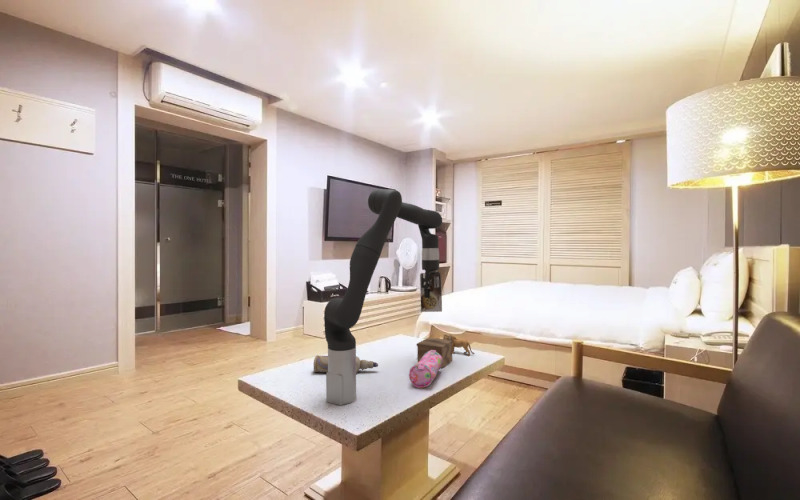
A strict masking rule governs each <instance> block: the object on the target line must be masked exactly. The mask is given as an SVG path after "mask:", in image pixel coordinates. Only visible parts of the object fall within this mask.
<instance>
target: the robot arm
mask: <svg viewBox="0 0 800 500" xmlns="http://www.w3.org/2000/svg"><path fill="white" fill-rule="evenodd" d="M367 205H368V208H369V210H370V211H371V212H372V213H373V214H375V215H378V217H377V219H376V220H375V222H374V223H373V225H372V226H371V227H369V228H368V229H367V231H365V232H364V233H363V235H362V236H361V237H359V239H358V241H356V243H355V245H354V249H353V251H352V253H351V256H350V259H349V282H348V286H347V288H346V291H345V294H344V296H343V298H341V297H340V298H339V297H335V298H332V299H331V300H329V301H328V302H327V304H325V308H324V312H323V315H324V316H323V322H324V324H323V325H324V336H325V340H326V343H327V356H328V372H325V377H326V378H325V383H326V385H325V386H326V390H325V391H326V392H325V393H326V394H325V395H326V403H329V404H330V403H331V404H333V405H337V406H343V405H346V404H350V403H353V402H354V401H356V399H357V373H356V356H357V345H356V344H357V339H356V337H355V336H354V335H353V334H352V332H351V330H350V329H351V328H353V327H354V326H356V325H357V323H358V321H359V320H360V317H361V315H362V310H363V307H364V303H365V299H366V295H367V292H368V289H369V286H370V284H371V281H372V279H373V275H374V273H375V270H376V267H377V265H378V262H379V260H380V258H381V254H382V251H383V249H384V246H385V243H386V241H387V238H388V236H389V234H390V231H391V230H392V227H393V225H394V224H395V221H396V220H397V218H398V219H400V220H404V221H407V222H408V223H412V224H414V225H417V226H418V230H419V233H420V236H421V237H420V238H421V247H422V249H421V270H422V271H424V273H425V274H421V273H420V274H421V287H422V288H423V289H424V297H425V298H429V297H430V285H431V284H432V279H431V280H430V282H428V278H429V279H430V274H433V273H440V271H439V270H440V250H439V236H438V235H436V234H434V233H431V229H434V230H435V229H438V228H440V227H441V226H442V224H443V217H442V215H441V214H440V213H439V212H437V211H436V210H432V209H431V210H430V209H424V208H423V207H420V206H418V205H415V204H412V203H407V202H403V196H402V194H401V192H400V191H399V190H396V189H390V188H389V189H388V188H387V189H385V188H384V189H383V188H382V189H381V188H380V189H375V190H373V191H371V193H369V195H368V199H367ZM424 282H425V283H424Z"/></svg>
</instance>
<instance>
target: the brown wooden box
mask: <svg viewBox="0 0 800 500" xmlns="http://www.w3.org/2000/svg"><path fill="white" fill-rule="evenodd" d="M452 342H453V340H447V339H443V338H439V337H438V338H437V337H432V336H431V337H430V336H429V337H427V338H425V339H423V340H421V341H419V342H417V343H416V347H417V349H416V350H417V363H418V362H419V361H420V360H421V359H422V357H423V355H424V354H425V353H426V352H428V351H430V350H436V352H437V353H439V354H440V355H441V357H442V367H441V369H440V370H442V369H443V368H445V367H446V366H447V365H449V364H450V363H451V362H453V354H452Z"/></svg>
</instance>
